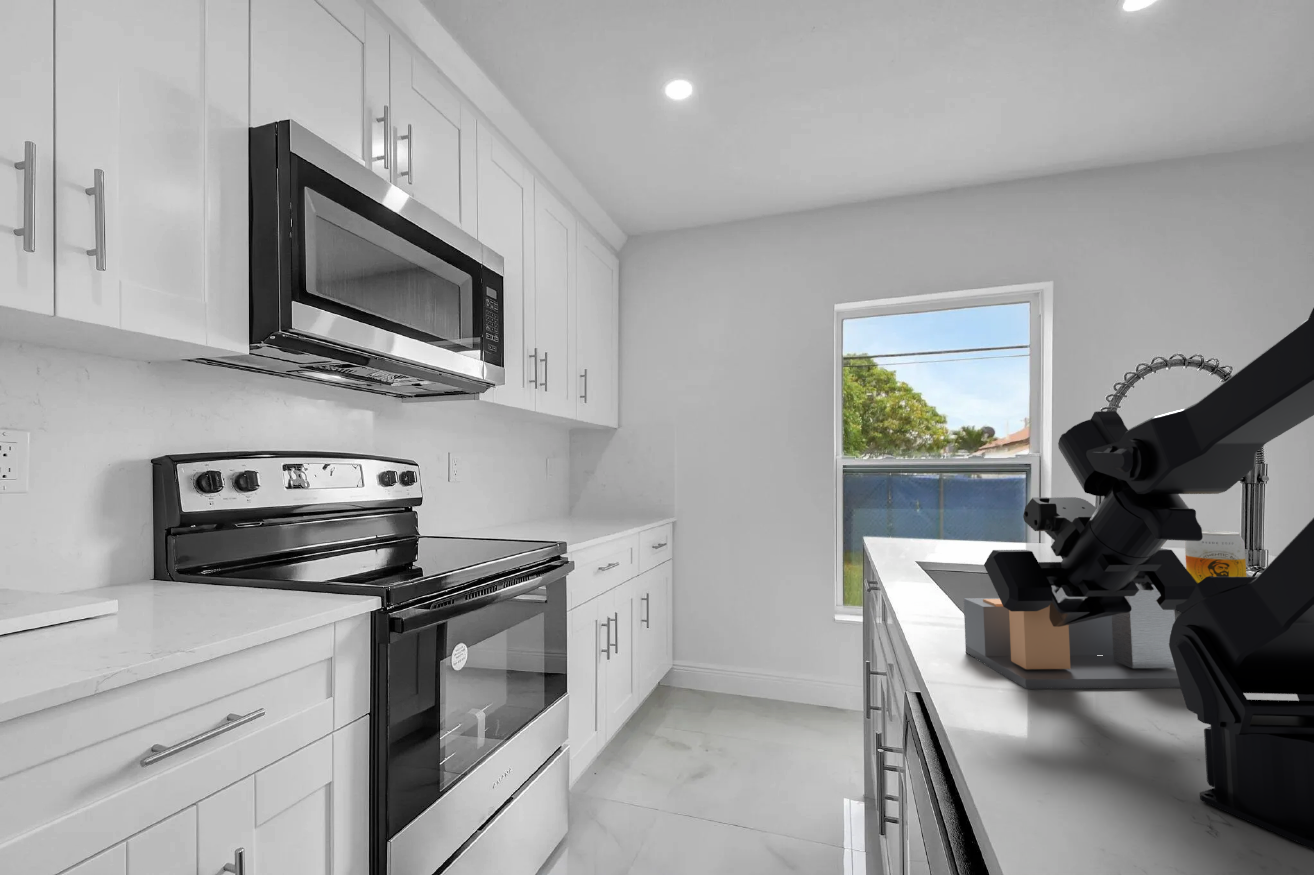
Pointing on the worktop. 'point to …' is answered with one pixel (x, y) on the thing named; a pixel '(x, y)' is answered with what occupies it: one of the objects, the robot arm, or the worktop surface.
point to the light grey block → (1143, 633)
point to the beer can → (1216, 555)
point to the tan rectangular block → (1038, 641)
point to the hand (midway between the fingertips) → (1054, 622)
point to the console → (1086, 641)
